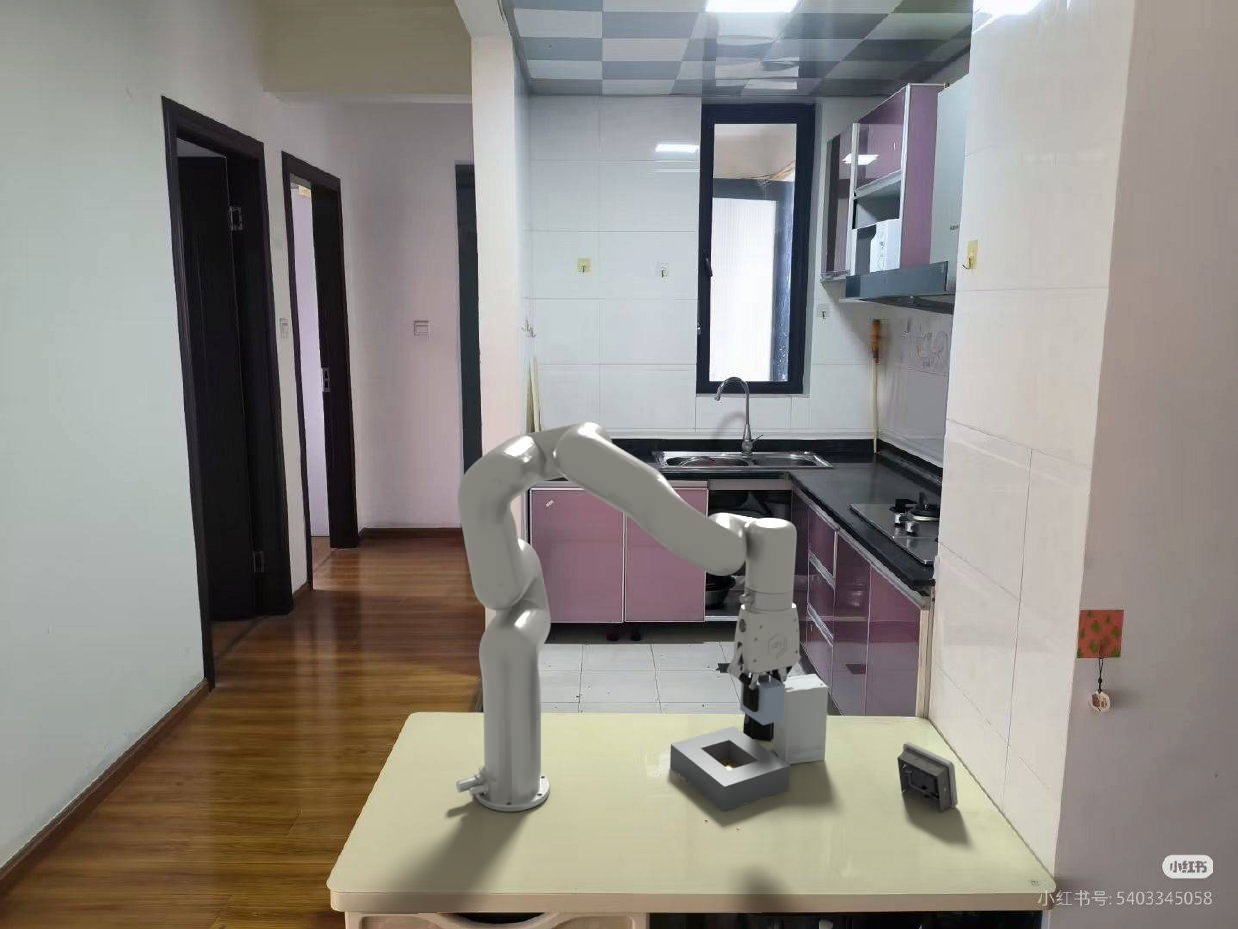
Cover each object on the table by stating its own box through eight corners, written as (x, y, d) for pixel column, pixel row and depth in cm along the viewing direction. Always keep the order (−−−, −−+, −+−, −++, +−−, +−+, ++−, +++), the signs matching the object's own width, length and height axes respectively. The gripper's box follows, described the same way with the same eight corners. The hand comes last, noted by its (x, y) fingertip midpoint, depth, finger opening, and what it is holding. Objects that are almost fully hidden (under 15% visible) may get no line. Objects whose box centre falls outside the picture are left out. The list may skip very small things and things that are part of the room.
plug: (763, 725, 142) (765, 685, 141) (740, 709, 147) (742, 670, 146) (783, 719, 144) (785, 680, 143) (759, 704, 149) (761, 666, 148)
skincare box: (812, 746, 171) (816, 672, 168) (826, 762, 165) (830, 686, 162) (770, 750, 169) (774, 675, 166) (783, 766, 163) (787, 690, 160)
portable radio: (774, 745, 170) (781, 620, 166) (742, 742, 172) (748, 617, 167) (775, 726, 178) (782, 605, 173) (745, 723, 179) (750, 603, 174)
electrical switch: (958, 808, 151) (960, 758, 149) (940, 821, 148) (942, 771, 146) (910, 784, 158) (911, 736, 156) (892, 796, 155) (892, 748, 153)
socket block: (723, 811, 149) (724, 786, 148) (670, 767, 162) (670, 744, 161) (789, 789, 156) (790, 765, 155) (732, 748, 169) (733, 726, 168)
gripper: (739, 613, 134) (733, 727, 138) (825, 597, 142) (817, 705, 146) (710, 597, 141) (705, 706, 144) (794, 583, 149) (787, 686, 152)
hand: (762, 704), depth 145 cm, fingers closed on plug, 4 cm apart
